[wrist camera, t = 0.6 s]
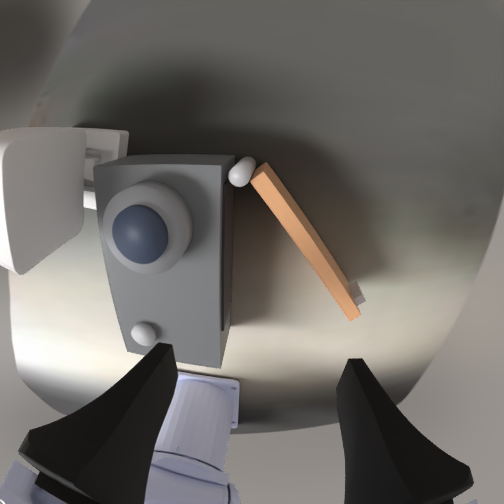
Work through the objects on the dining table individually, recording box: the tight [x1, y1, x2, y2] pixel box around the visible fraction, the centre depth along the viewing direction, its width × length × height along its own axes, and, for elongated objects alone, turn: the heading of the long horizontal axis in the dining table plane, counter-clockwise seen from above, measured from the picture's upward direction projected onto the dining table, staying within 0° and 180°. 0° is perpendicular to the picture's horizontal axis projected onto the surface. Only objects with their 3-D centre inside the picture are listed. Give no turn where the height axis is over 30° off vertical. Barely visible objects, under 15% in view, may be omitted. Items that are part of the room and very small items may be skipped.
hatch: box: [229, 156, 366, 321], centre depth 16 cm, size 11×2×4 cm, turn 37°
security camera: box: [0, 127, 129, 275], centre depth 13 cm, size 6×7×10 cm
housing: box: [93, 154, 235, 369], centre depth 16 cm, size 13×7×6 cm, turn 177°
